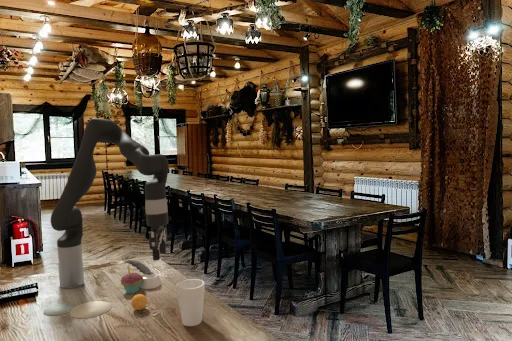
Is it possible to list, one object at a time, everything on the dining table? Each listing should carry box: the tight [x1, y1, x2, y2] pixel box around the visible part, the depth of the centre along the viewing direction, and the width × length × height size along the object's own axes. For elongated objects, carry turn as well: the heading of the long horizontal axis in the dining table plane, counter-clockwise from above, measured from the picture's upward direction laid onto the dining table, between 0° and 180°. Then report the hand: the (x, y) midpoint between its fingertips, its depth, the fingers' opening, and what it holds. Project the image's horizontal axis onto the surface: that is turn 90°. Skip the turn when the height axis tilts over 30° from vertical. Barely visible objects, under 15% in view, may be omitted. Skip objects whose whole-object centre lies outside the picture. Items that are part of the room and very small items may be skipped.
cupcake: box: [120, 264, 143, 294], centre depth 167 cm, size 9×8×12 cm
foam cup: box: [175, 278, 206, 327], centre depth 138 cm, size 10×9×13 cm
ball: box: [130, 293, 148, 311], centre depth 149 cm, size 6×6×6 cm
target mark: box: [69, 300, 112, 319], centre depth 151 cm, size 14×14×1 cm
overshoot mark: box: [43, 302, 75, 317], centre depth 152 cm, size 10×10×1 cm
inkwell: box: [123, 259, 162, 290], centre depth 175 cm, size 9×18×10 cm, turn 68°
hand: (159, 256), depth 148 cm, fingers open, 8 cm apart
